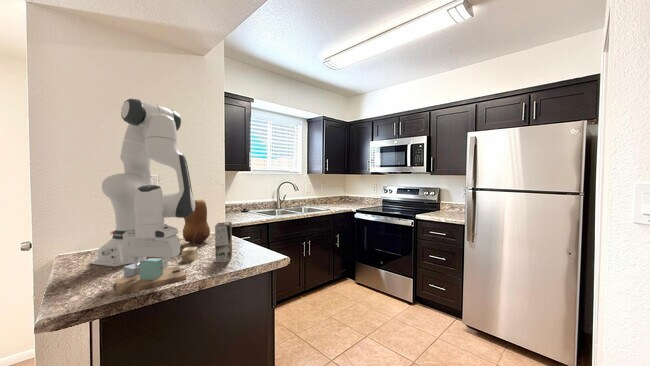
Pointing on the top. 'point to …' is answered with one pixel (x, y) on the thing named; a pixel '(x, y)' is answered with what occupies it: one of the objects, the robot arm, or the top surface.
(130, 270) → the slate block
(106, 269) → the top surface
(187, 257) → the beech block
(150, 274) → the teal block
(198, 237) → the butternut squash
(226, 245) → the coffee box
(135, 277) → the board
